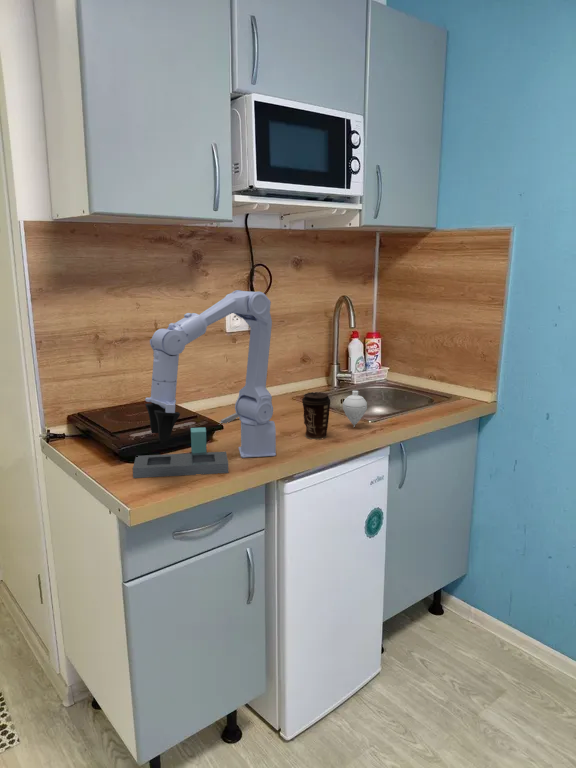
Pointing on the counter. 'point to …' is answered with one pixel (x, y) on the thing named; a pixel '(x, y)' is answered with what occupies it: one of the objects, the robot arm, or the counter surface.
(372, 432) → the counter surface
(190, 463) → the peg socket board
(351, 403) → the spinning top
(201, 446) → the square peg
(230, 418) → the caliper
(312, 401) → the coffee cup
